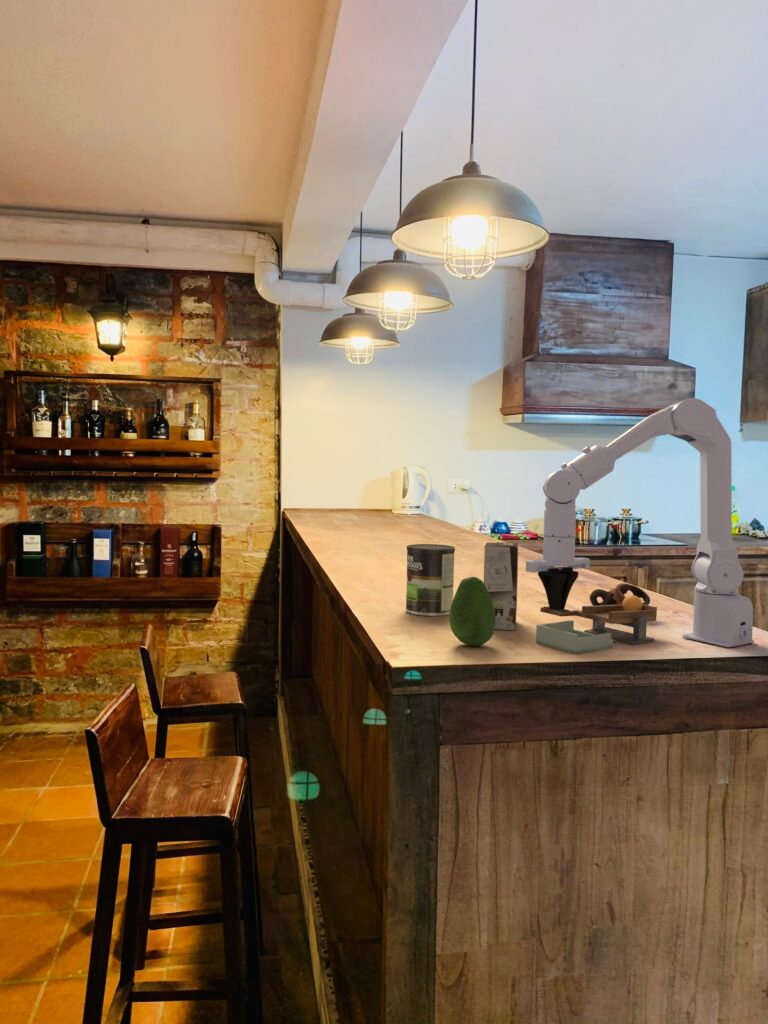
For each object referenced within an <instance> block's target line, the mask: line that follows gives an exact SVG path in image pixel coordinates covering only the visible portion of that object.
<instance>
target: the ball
mask: <svg viewBox="0 0 768 1024" xmlns="http://www.w3.org/2000/svg"><path fill="white" fill-rule="evenodd" d="M625 597H626V598H625V599H624V600H623V604H622V605H623V609H624V610H625V611H636V610H641V609H642V603H643V600H642V599H641V598H638V597H637V596H634V595H633V594H632V595H627V596H625Z"/></svg>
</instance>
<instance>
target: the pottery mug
mask: <svg viewBox="0 0 768 1024" xmlns="http://www.w3.org/2000/svg"><path fill="white" fill-rule="evenodd" d="M629 591H630V593H632V595H634V596H637V597H638V598H640V599H642V601H643V602H642V604H643V605H649V606H650V604H651V598H650V596H649V594H647V592H646V591H645V590H643V589H642V588H640V587H638V586H636V585H633V584H631V583H625V582H624V583H623V582H622V583H619V584H617V585H616V587H614V588H612V589H609V590H608V591H607V590H604V589H601V588H598V589H595V590H592V592H591V593H590V595H589V601H590V604H591V606H599V605H622V604H623V600H624V599H625V598H626V597H627V596H625V595H626V594H627V593H628V592H629ZM598 598H601V599H602V601H601V602H599V601H598Z"/></svg>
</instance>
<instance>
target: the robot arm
mask: <svg viewBox="0 0 768 1024" xmlns="http://www.w3.org/2000/svg"><path fill="white" fill-rule="evenodd" d="M666 435H667V436H668V435H669V436H672V437H674V438H677V439H679V440H683V441H685V442H686V443H687V444H689V445H690V446H691V447H693V448H694V449H695V450H696V451H697V452H699V457H700V458H699V462H700V463H699V465H700V466H699V468H700V469H699V470H700V471H699V473H700V474H699V475H700V476H699V477H700V478H699V479H700V482H699V483H700V485H699V486H700V487H699V488H700V493H699V494H700V503H699V504H700V538H699V541H698V543H697V545H696V554H695V555H696V556H695V558H694V560H692V561H693V562H692V564H691V574H692V576H693V579H694V580H695V581H696V584H695V586H694V597H693V600H694V601H693V618H692V619H693V620H692V621H693V622H692V623H693V624H692V625H693V626H692V632H691V633H690V632H689V633H685V634H684V633H683V634H682V638H685V639H689V640H694V641H698V642H704V643H707V644H710V645H711V644H713V645H716V646H720V647H726V648H733V647H739V646H744V645H749V643H750V644H754V643H755V639H753V625H754V606H753V602H752V600H751V599H750V598H749V597H747V596H744V595H741V594H739V593H738V592H739V587H740V586H741V585H742V583H743V581H744V570H743V567H742V566H741V563H740V561H739V557H738V555H739V552H738V549H737V547H736V545H735V543H734V541H733V539H732V538H733V535H732V534H733V533H732V532H733V530H732V526H733V525H732V524H733V523H732V522H733V520H732V511H733V509H732V504H733V503H732V500H733V499H732V488H733V487H732V441H731V440H732V439H731V437H730V435H729V434H728V432H727V430H726V429H725V428H724V425H723V424H722V422H721V421H720V419H719V418H718V416H717V411H716V408H714V407H713V406H711V405H709V404H708V403H707V402H705V401H703V400H702V399H700V398H696V397H689V398H686V399H684V400H681V401H680V402H673V403H671V404H669V405H668V406H666V408H663V409H659V410H658V411H656V412H654V413H652V414H650V415H648V416H647V417H645V418H644V419H642V420H640V421H639V422H638V423H636V424H635V425H634V426H632V427H631V428H630V429H628V430H626V431H625V432H623V433H622V434H621V435H620V436H619V437H617V438H615V439H614V440H613V441H611V442H610V443H609V444H607V445H606V446H602V445H597V444H596V445H593V446H591V447H590V446H586V447H585V448H583V449H582V450H581V452H582V454H580V455H578V456H577V457H575V458H574V459H573V460H571V461H570V462H568V463H566V462H563V463H562V464H560V468H561V469H560V470H558V471H554V472H553V473H550V474H549V475H548V476H547V477H546V478H545V480H544V484H543V486H542V491H543V494H544V495H545V500H544V501H545V502H544V506H545V509H544V513H543V517H544V518H543V545H542V557H539V559H533V560H532V559H531V560H526V561H525V572H528V573H532V574H533V573H537V576H538V578H539V579H540V581H541V583H542V585H543V588H544V591H545V594H546V595H545V596H546V599H547V603H548V606H549V608H552V609H557V610H558V609H566V606H567V600H568V598H569V595H570V592H571V590H572V587H573V586H574V584H575V582H576V581H577V579H578V578H579V571H575V570H577V569H578V570H579V569H584V570H585V569H586V570H588V569H590V558H588V557H576V556H575V555H576V554H575V551H576V523H577V522H576V521H577V512H576V499H577V498H578V496H579V495H580V491H581V490H584V491H585V490H586V489H588V488H590V487H591V486H593V485H594V484H596V483H597V482H598V481H600V480H602V479H603V478H604V477H606V476H607V475H609V474H611V473H612V472H613V471H614V470H615V463H616V462H617V460H618V459H620V458H622V457H624V456H625V455H627V454H629V453H630V452H632V451H633V450H635V449H636V448H638V447H639V446H641V445H643V444H644V443H646V442H647V441H650V439H652V438H654V437H661V436H666Z"/></svg>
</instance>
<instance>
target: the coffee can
mask: <svg viewBox="0 0 768 1024" xmlns="http://www.w3.org/2000/svg"><path fill="white" fill-rule="evenodd" d="M455 551H456V547H455V546H453V545H449V544H438V543H437V544H434V543H419V544H418V543H416V544H415V543H414V544H409V545H406V555H407V556H406V593H405V594H406V598H405V612H406V613H407V612H408V613H407V614H410V613H411V614H410V615H413V614H415V616H420V615H422V617H443V616H450V609H451V604H452V602H453V599H454V579H455V575H454V573H455Z"/></svg>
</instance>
